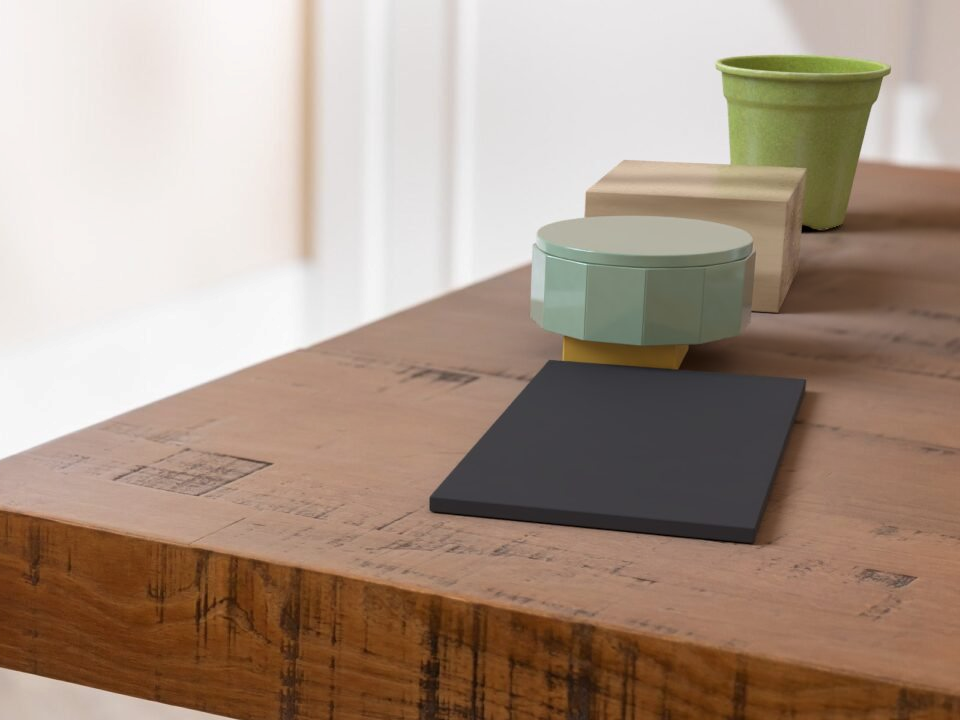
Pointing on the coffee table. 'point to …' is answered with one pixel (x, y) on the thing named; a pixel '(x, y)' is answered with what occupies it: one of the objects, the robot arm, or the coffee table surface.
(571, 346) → the block
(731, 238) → the faceted mint tin
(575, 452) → the mat
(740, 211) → the block
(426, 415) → the coffee table surface
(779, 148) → the plant pot
